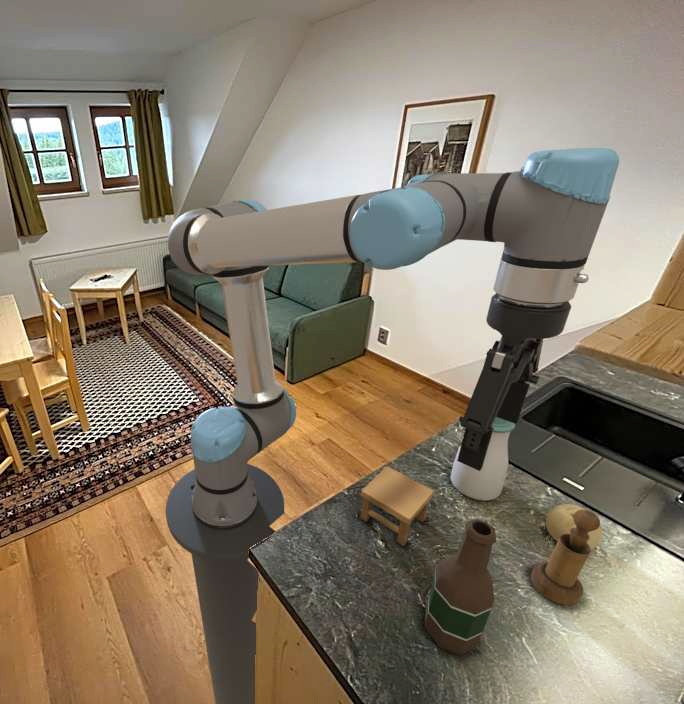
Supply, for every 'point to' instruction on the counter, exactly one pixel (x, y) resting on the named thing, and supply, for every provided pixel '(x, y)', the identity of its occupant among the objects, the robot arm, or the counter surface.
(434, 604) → the beer bottle
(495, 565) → the counter surface
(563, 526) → the onion
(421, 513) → the stool
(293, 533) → the counter surface
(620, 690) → the counter surface
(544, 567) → the mortar and pestle
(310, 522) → the counter surface
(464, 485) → the soap bottle
